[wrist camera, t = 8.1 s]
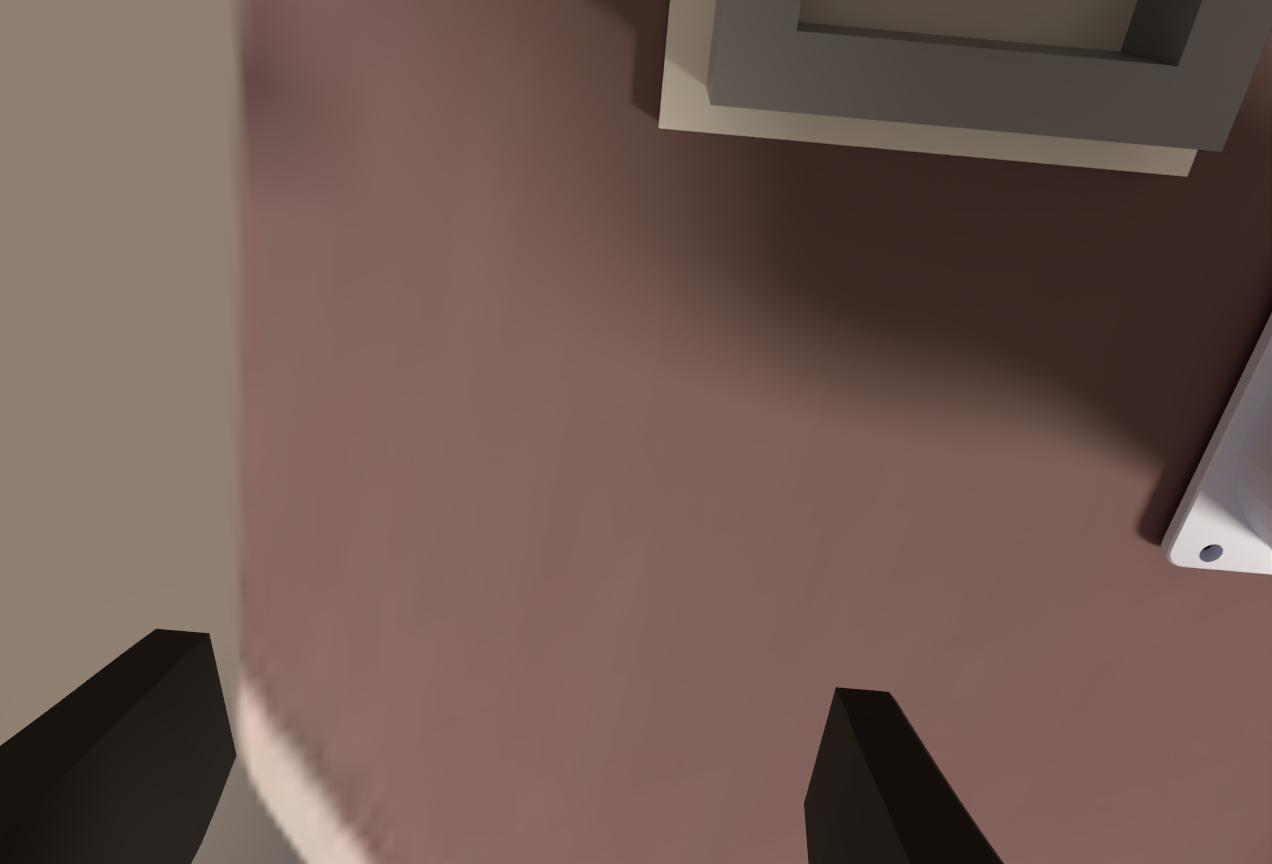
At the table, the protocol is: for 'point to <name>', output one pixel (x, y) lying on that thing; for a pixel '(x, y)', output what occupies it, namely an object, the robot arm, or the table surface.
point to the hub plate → (970, 75)
